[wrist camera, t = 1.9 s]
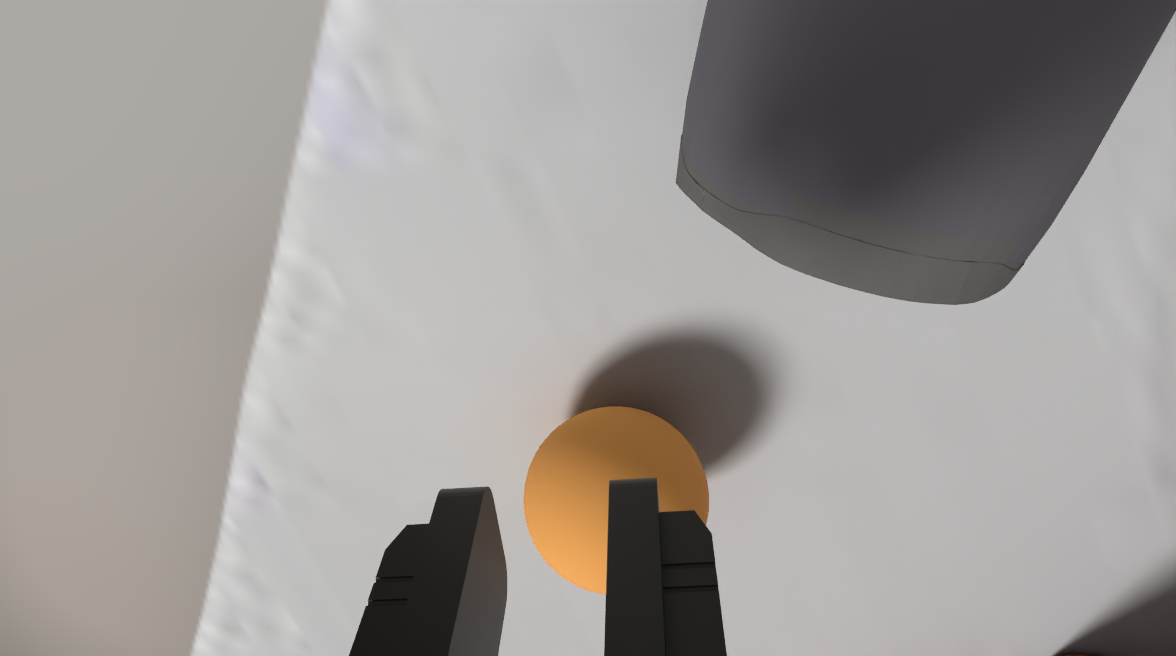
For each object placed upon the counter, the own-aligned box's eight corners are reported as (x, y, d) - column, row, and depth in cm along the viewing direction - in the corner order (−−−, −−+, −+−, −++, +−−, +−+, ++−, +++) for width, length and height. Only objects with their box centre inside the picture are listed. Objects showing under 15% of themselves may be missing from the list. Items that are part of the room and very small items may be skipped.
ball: (522, 377, 30) (499, 490, 25) (698, 366, 29) (713, 479, 24) (543, 512, 33) (528, 640, 27) (704, 504, 32) (720, 632, 27)
